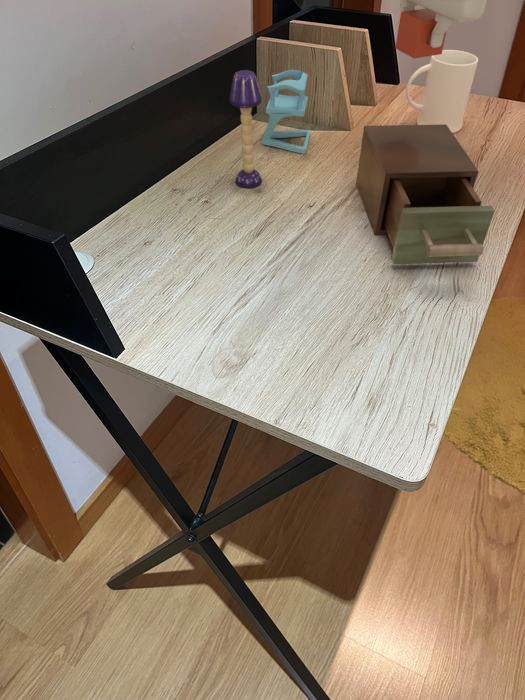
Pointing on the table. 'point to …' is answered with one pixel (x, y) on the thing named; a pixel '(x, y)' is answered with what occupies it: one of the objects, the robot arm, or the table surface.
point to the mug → (445, 89)
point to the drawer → (435, 220)
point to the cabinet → (406, 162)
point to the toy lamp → (246, 123)
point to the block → (417, 33)
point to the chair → (286, 110)
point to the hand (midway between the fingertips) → (420, 39)
